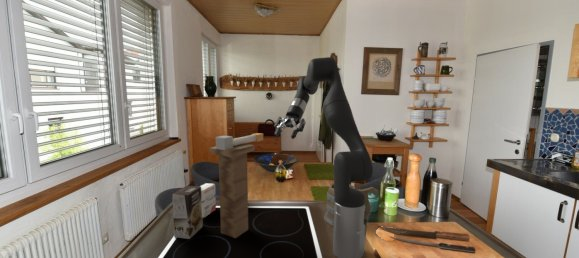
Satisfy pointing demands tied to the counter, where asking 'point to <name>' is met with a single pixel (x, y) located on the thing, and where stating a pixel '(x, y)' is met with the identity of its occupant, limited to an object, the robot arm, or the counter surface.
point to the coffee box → (187, 211)
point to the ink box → (208, 199)
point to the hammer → (236, 141)
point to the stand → (233, 188)
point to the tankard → (331, 202)
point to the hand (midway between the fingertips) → (284, 136)
